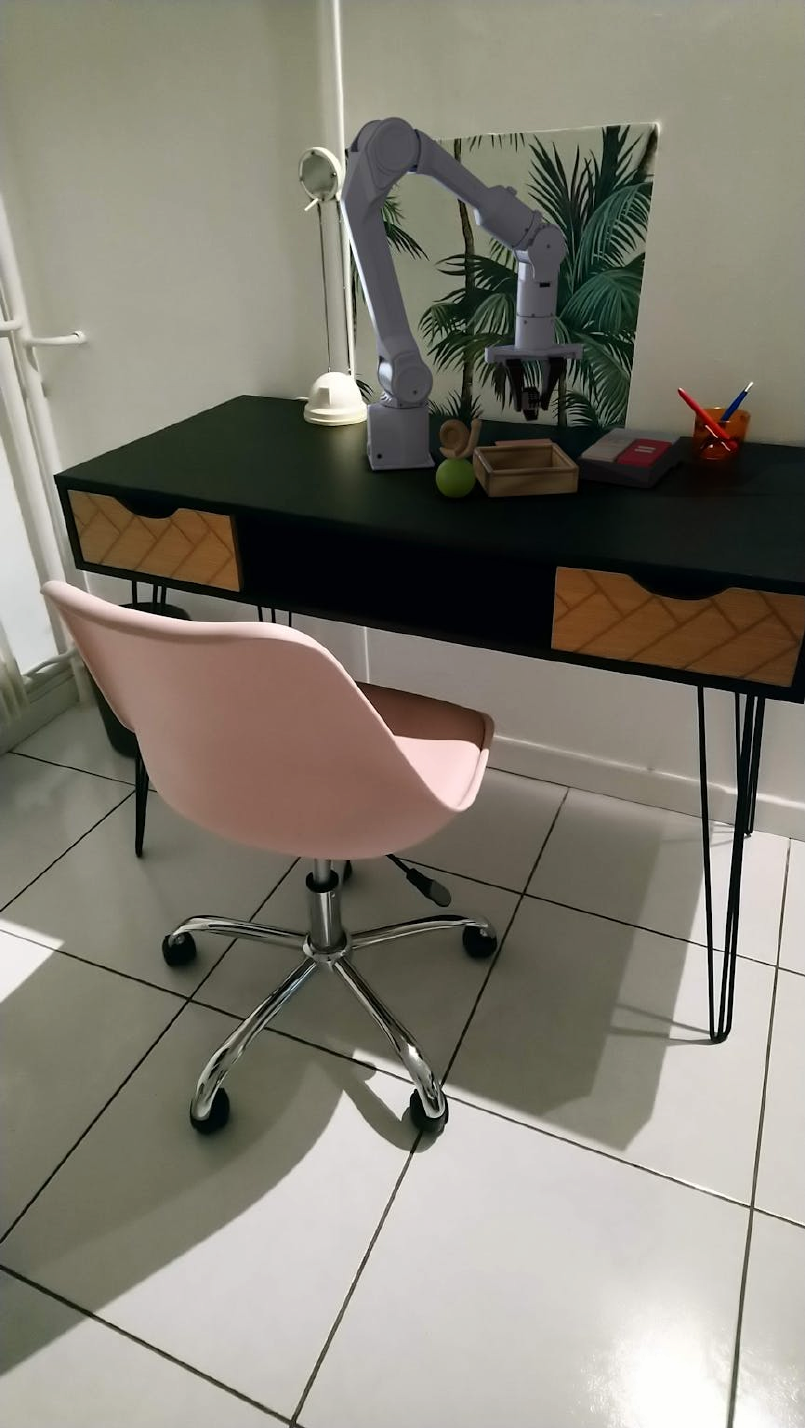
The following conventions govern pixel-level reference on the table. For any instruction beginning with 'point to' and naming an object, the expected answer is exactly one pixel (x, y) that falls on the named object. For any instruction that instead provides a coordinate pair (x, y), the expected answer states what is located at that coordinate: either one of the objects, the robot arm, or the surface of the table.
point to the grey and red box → (630, 457)
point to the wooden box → (525, 470)
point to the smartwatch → (531, 403)
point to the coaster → (523, 442)
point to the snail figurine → (457, 457)
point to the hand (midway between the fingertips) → (530, 409)
